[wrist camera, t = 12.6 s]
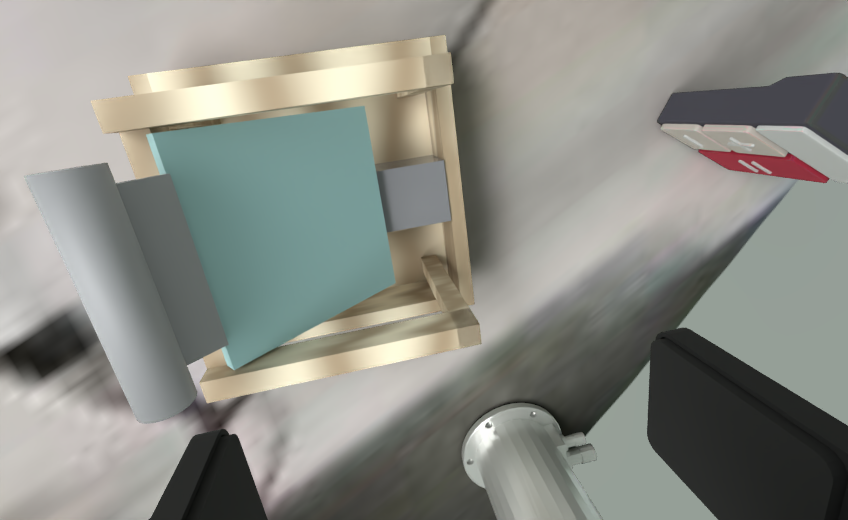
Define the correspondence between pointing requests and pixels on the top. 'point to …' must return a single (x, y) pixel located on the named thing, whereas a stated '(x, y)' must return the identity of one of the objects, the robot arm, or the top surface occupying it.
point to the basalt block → (413, 192)
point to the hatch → (220, 245)
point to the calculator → (768, 127)
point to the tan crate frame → (391, 141)
